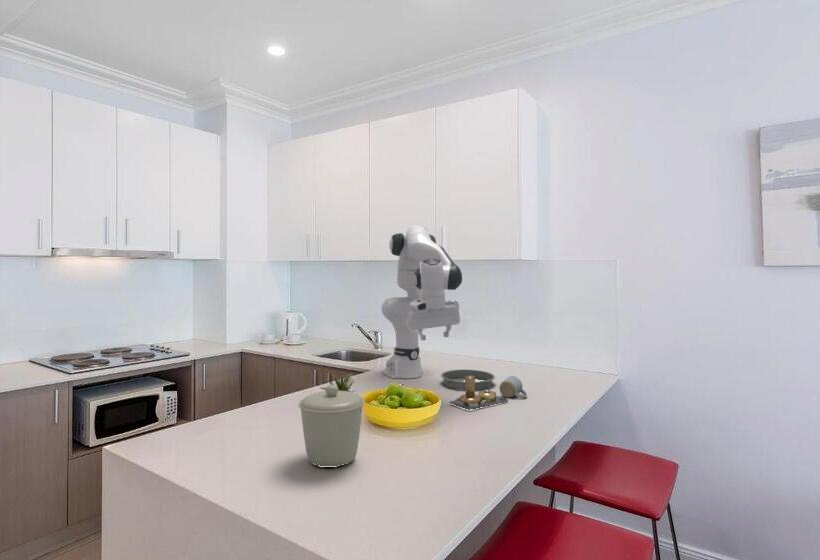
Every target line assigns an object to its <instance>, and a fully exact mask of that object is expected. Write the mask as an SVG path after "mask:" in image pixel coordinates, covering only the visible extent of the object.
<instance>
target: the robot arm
mask: <svg viewBox="0 0 820 560" xmlns="http://www.w3.org/2000/svg"><path fill="white" fill-rule="evenodd" d="M389 250H390V253H391V254H392V255H393V256H397V257H398V262H397V277H396V279H397V280H396V281H397V282H396V283H397V286H398V287H399V288H400V289H402V290H404V291H406V294H407V296H401V297H399V296H398V297H391V298H387V299H385V300H383V302H382V304H381V313H382V315H383V316H384V318H385V319H387V320H388V321H389V322H390V323H391V324H392V326H393V328H394V332H395V347H394V348H393V351H394V352H393V354H392V356H391V357H389V358H388V359H387V360H386V363H385V364H386V366H385V368H384V369H382V370H381V373H382V374H383V375H385V376H387V377H389V378H392V379H404V380H405V379H417V378H420V377H422V375H423V373H424V372H423V370H422V363H421V360H422V359H421V357H420V356H419V355H420V346H419V336H420V341H427V337H426V336H427V335H425V334H423V331H424V330H425V329H426V330H427V329H433V328H440V327H445V328H446V329H445V331H443V337H444V338H449V337H450V331H451V329H452V326H454V325H459V324H460V323H461V316H460V303H459V302H458V301H457V300H455V299H453V300H446V293H445V290H448V291H455V290H457V289H458V288H459V287H460V286H461V285H462V283H463V274H462V270H461V267H459V266H458V265H457V264H456V263H455V262H454V261H453V259H452V258H451V256H450V255H449V254H448V253H447V251H446V249H445V248H444V247H443V246H441V245H439V244H438V243H437V240H436V237H435V236H434V235H433V234H430V233H429V232H428V231H427V229H426V228H425V227H424V226H422V225H419V224H415V225H412V226H410V227H409V228H408V229H407V231H406V233H401V232H398V233H395V234H393V235H392V236H391V237H390V240H389Z"/></svg>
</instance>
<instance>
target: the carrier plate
mask: <svg viewBox="0 0 820 560" xmlns="http://www.w3.org/2000/svg"><path fill="white" fill-rule="evenodd" d="M477 395H478V396H480V397H481V403H480V404H478V403H469V405H465V403H463V402H461V401H460V396H459V397H456V398H455V400H452V401H450V400H449V403H451V404H454V405H456V406H459V407H462V408H465V409H468V410H470V409H476V408H480V407H485V406H490V405H494V404H499V403H503V404H505V403H504V402H509V399H508V398H506V397H505V398H504V397H500V396H497V392H495V391H493V390H490V389H489V388H487V389H483V390H478V393H477ZM449 403H448V404H449ZM499 405H500V404H499Z"/></svg>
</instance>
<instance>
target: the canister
mask: <svg viewBox="0 0 820 560" xmlns="http://www.w3.org/2000/svg"><path fill="white" fill-rule="evenodd" d="M325 388H326V389H324V390H322V391H317V392H314V393H311V394H309V395H307V396H305V397H304V398H303V399H302V398H301V400H299V401H298V408H299V409H300V413H301V414H300V415H301V421H302V422H301V423H302V431H303V439H304V445H305V451H306V452H305V453H306V456H307V459H308V461H309V462H310V463H311V464H312V463H314V464H316V465H320V466H338V465H342V464H346V463H348V462H350V461H351V462H353V461H354V460H355V458H356V456H357V453H358V448H359V442H360V441H359V440H360V433H361V426H362V424H361V423H362V415H363V413H362V412H363V406H364V405H365V403H366V400H365V398H364V397H362V396H360V395H358V394H357V393H355V392H352V391H351V392H348V391H349V390H348V391H338V387H337V385H336V384H334V385H331V384H328V385H327V386H326V387H325ZM351 462H350V463H351Z"/></svg>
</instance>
